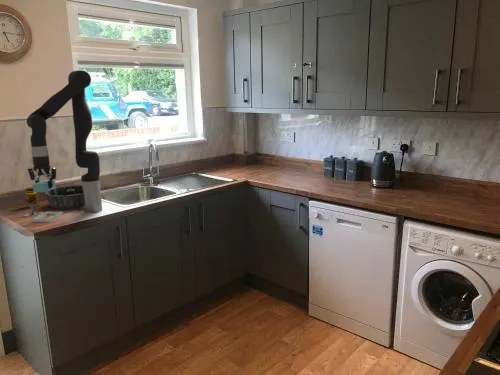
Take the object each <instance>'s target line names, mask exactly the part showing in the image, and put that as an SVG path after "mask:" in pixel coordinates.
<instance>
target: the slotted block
mask: <svg viewBox="0 0 500 375" xmlns="http://www.w3.org/2000/svg"><path fill="white" fill-rule="evenodd" d="M52 183H53V187H52V188H49V187H48V180H46V179H45V180H42V181H40V182H39V183H35V182H34V183H33V184H32V187H33V191H34V192H37V193H46V191H48V190H51V189H54V188H57V187H56V186H57V185H56V179H54V180H52Z"/></svg>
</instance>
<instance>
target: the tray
mask: <svg viewBox="0 0 500 375" xmlns="http://www.w3.org/2000/svg"><path fill="white" fill-rule="evenodd" d="M63 215H64V212H63V211H44V213H42V214H40V215H38V216H35V217H34V218H32V219H31V221H32V223H51V222H52V221H54V220H56V219H58V218H59V217H61V216H63ZM46 216H50V217H49V218H45V217H46Z"/></svg>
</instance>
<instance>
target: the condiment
mask: <svg viewBox="0 0 500 375" xmlns="http://www.w3.org/2000/svg"><path fill="white" fill-rule="evenodd" d="M24 194H25V202H26V208H27V209H31V206H28V204H37V206H35V208H39V206H40V203H39V197H38V192H34V191H33V186H32V187H31V186H30V187H26V188H25V193H24Z"/></svg>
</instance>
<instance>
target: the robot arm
mask: <svg viewBox="0 0 500 375" xmlns="http://www.w3.org/2000/svg"><path fill="white" fill-rule="evenodd" d="M67 80H68V81H67V82H68V83H67V84H66V85H65V86H64V87H63V88H61V90H58V92H55V93H54V94H53V95H52V96H50V98H48V99H47V100H46V101H45V102H44V103H43V104H42V105H41V106H40V107H39V108H37V109H36V110H35V111H33V112H32V113H30V114H29V115H28V116H27V118H26V122H25V123H26V125H27V126H28V127H29V128H30V129H31V135H30V146H31V147H30V148H31V160H32V165H33V167H29V168H27V171H28V175H29V177H30V180H31V181H34V184H35V183H39V182H41V181H40V178H41V176H44V178H46V179H47V180H48V187H49V188H52V187H53V183H52V180H56V178H57V167H51V165H50V155H49V148H48V144H47V120H48V119H49V118H52V117H54V116H55V115H56V114H57V113H58V112H59V111H60V110H61V109H62V108H63V107H64V106H65V105H66V104H67V103H68V102H69V101H70V100H71V104H72V105H71V108H72V119H73V128H74V140H75V144H74V145H75V162H76V165H77V166H78V167H79V168H82V169H87V172H86V173H84V174H82V175H81V177H80V180H81V185H82V191H83V200H84V207H83V208H84V209H83V210H84V212H85V213H97V212H101V211H103V205H102V204H103V203H102V194H101V183H100V175H101V168H100V166H101V164H100V157H99V156H100V155H99V154H98V153H97V152H96V151H91V150H87V141H88V138H89V136H90V134H91V132H92V128H93V116H92V112H91V111H92V110H91V109H90V107H89V103H88V102H87V99H86V88H88V87H89V86H90V84H91V82H92V77H91V74H90V73H89V72H88V71H86V70H82V69H81V70H80V69H79V70H72V71H71V72H70V73H69V75H68V78H67Z"/></svg>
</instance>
